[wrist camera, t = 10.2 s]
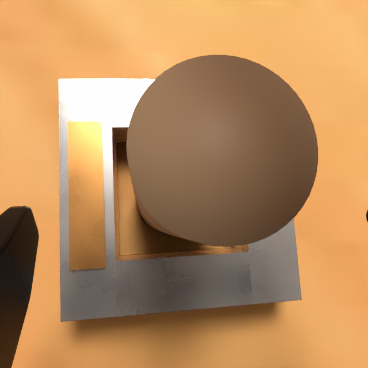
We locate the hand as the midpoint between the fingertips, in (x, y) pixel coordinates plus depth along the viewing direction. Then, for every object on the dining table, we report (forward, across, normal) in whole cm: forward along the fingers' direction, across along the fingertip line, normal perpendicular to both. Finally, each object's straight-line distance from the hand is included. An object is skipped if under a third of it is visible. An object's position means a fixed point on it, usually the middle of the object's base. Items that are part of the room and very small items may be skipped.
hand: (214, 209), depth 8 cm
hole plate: (+9, 0, +6) cm, 11 cm away
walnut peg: (+8, 0, +7) cm, 11 cm away
